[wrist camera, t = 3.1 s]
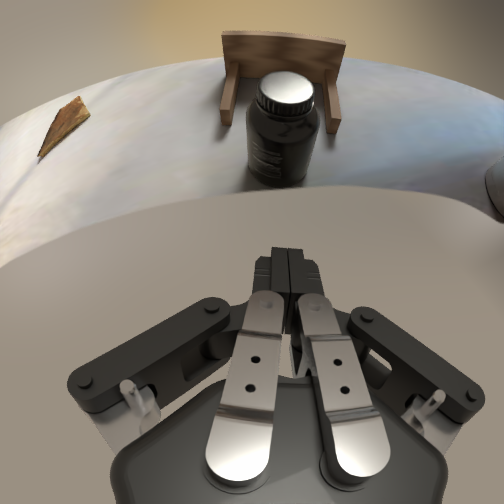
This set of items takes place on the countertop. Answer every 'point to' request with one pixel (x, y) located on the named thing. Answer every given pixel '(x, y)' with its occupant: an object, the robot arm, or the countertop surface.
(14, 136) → the countertop surface
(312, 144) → the supplement bottle
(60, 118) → the shard
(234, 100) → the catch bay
